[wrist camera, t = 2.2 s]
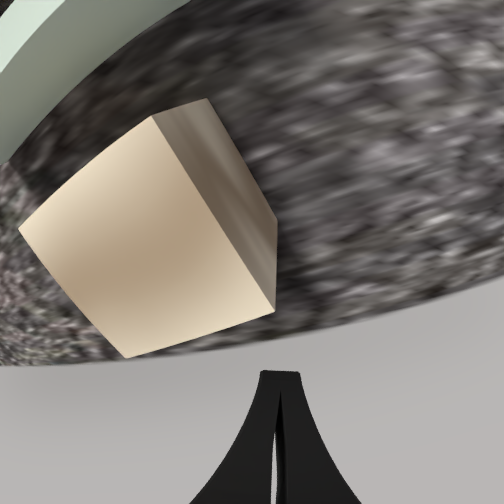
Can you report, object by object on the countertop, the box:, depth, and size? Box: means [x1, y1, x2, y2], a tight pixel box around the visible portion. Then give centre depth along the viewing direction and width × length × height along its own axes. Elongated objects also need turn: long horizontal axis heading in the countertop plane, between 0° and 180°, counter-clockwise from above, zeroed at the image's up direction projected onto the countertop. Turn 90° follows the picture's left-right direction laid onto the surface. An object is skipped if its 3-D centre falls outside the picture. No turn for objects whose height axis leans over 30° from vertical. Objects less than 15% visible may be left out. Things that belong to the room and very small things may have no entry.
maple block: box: [18, 98, 277, 358], centre depth 8 cm, size 4×4×4 cm
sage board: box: [0, 0, 191, 165], centre depth 6 cm, size 1×12×4 cm, turn 119°
